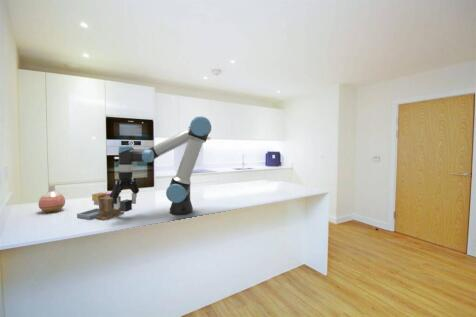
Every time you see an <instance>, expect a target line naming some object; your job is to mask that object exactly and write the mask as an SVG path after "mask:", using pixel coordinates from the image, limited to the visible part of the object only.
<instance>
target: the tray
mask: <svg viewBox="0 0 476 317" xmlns="http://www.w3.org/2000/svg"><path fill="white" fill-rule="evenodd" d="M97 216H99V207H98V208H97V207H96V208H94V209H93V208H92V209H88V210H86V211H83V212H79V213H76V218H77V219H81V220H88V221H89V220H90V221H92V220H96V217H97Z"/></svg>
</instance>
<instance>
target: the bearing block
mask: <svg viewBox="0 0 476 317" xmlns="http://www.w3.org/2000/svg"><path fill="white" fill-rule="evenodd" d="M118 198H119V202H120V201H122V200H121V199H122V197H121V195H119V196H118ZM112 201H113V198H110V196H107V197H103V198H99V205H98V209H99V216H97V217H96V218H95V220H99V221H100V220H101V221H107V220H110V219H113V218H115V217H119V216H122V215H124V214H125V212H123V211H120V208H119V209H118V210H117V209H114V207H112Z"/></svg>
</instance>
